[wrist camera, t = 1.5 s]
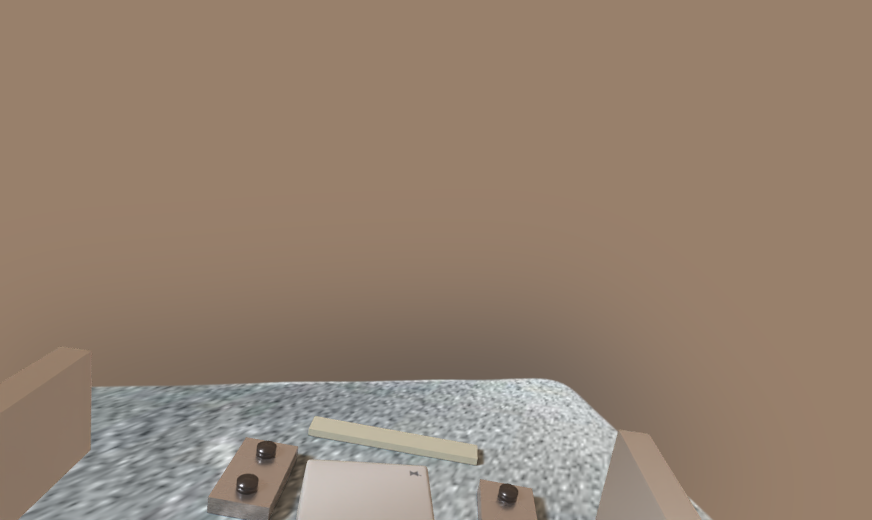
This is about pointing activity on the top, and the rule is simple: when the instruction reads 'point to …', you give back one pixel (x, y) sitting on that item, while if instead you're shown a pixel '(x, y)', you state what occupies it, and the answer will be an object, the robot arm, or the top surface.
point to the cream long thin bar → (393, 440)
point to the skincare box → (364, 491)
